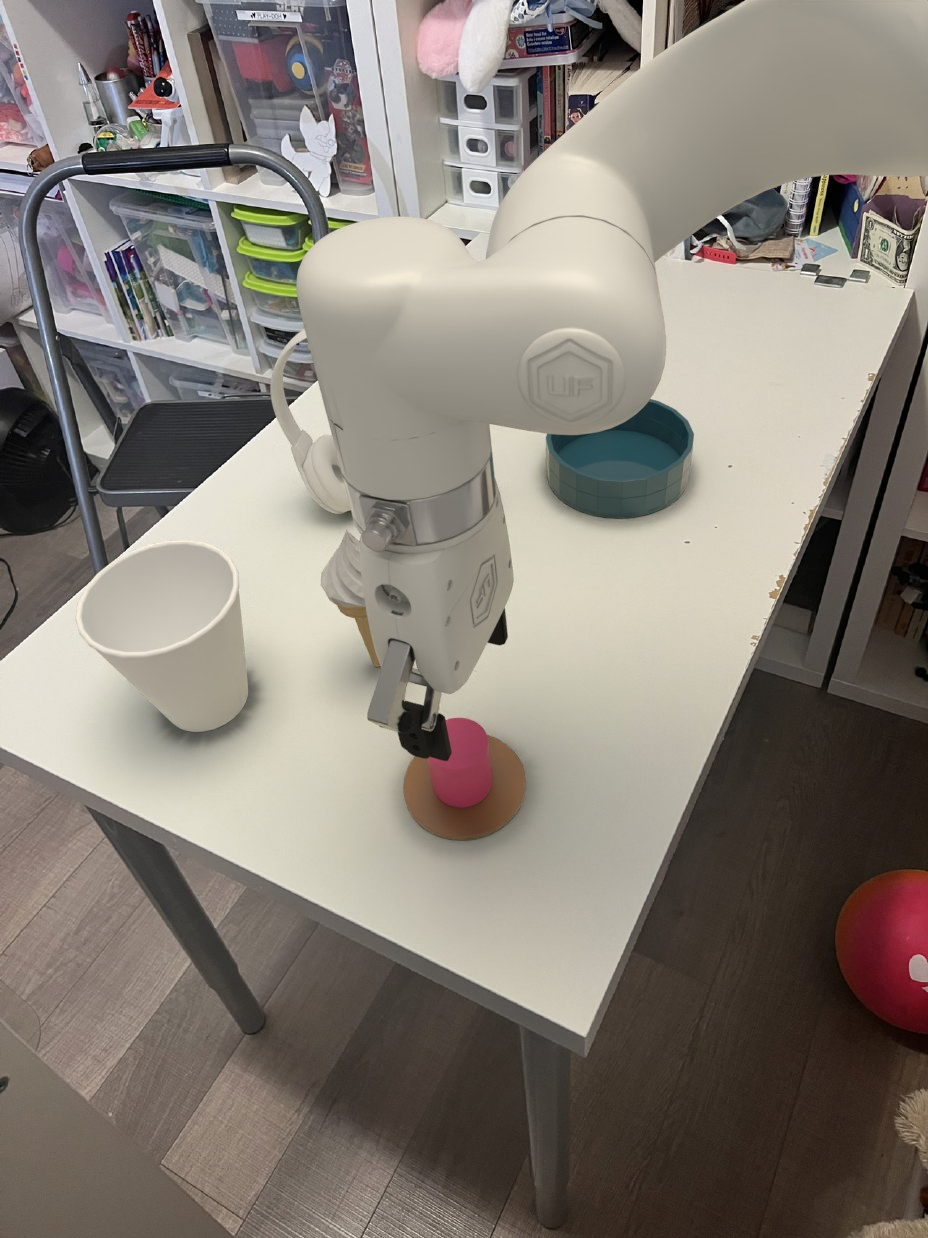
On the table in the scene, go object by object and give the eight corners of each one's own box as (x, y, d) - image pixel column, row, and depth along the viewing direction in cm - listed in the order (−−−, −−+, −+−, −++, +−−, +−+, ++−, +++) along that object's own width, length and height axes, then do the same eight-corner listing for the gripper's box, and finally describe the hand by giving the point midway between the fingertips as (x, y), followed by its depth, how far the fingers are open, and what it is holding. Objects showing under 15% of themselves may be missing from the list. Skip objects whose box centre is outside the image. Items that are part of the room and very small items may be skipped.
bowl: (642, 417, 95) (645, 380, 91) (716, 490, 86) (723, 452, 82) (524, 456, 92) (522, 419, 89) (588, 535, 83) (589, 498, 79)
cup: (194, 629, 79) (146, 524, 70) (306, 667, 74) (270, 560, 65) (105, 731, 72) (38, 628, 63) (223, 778, 67) (170, 676, 58)
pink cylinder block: (478, 748, 67) (473, 708, 63) (502, 794, 64) (498, 755, 60) (424, 770, 66) (416, 730, 62) (446, 817, 63) (438, 779, 59)
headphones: (313, 481, 92) (265, 300, 77) (488, 485, 89) (473, 298, 74) (294, 527, 87) (240, 343, 72) (478, 533, 84) (460, 343, 70)
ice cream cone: (331, 673, 74) (291, 539, 63) (373, 630, 77) (341, 495, 66) (383, 701, 71) (351, 566, 60) (424, 656, 74) (400, 519, 63)
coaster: (495, 719, 69) (495, 715, 69) (546, 811, 63) (546, 807, 63) (387, 762, 67) (386, 758, 67) (430, 860, 61) (429, 856, 61)
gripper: (417, 618, 38) (460, 821, 51) (546, 397, 49) (555, 611, 61) (270, 584, 41) (345, 785, 53) (422, 380, 51) (455, 589, 64)
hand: (457, 692), depth 57 cm, fingers open, 9 cm apart
